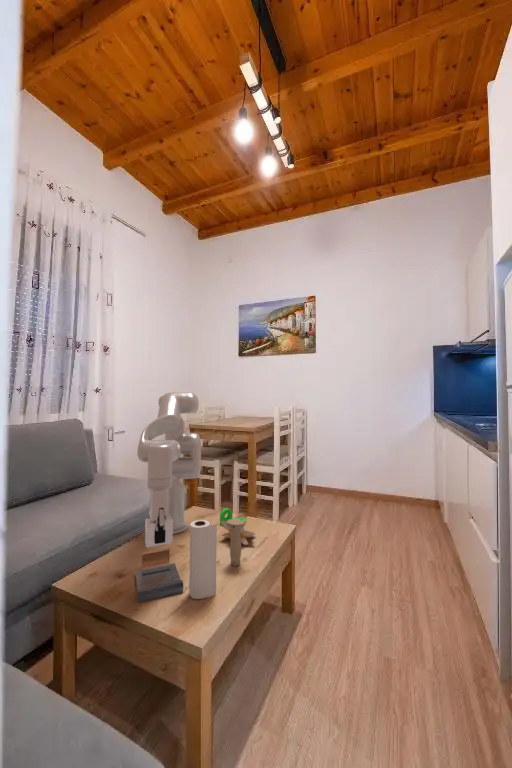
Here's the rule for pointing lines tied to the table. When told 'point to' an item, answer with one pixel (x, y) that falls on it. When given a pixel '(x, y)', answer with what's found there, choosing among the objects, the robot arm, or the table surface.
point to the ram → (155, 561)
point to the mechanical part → (222, 516)
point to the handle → (235, 540)
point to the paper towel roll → (202, 559)
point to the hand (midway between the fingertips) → (158, 538)
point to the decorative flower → (243, 533)
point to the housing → (150, 532)
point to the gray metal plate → (158, 584)
